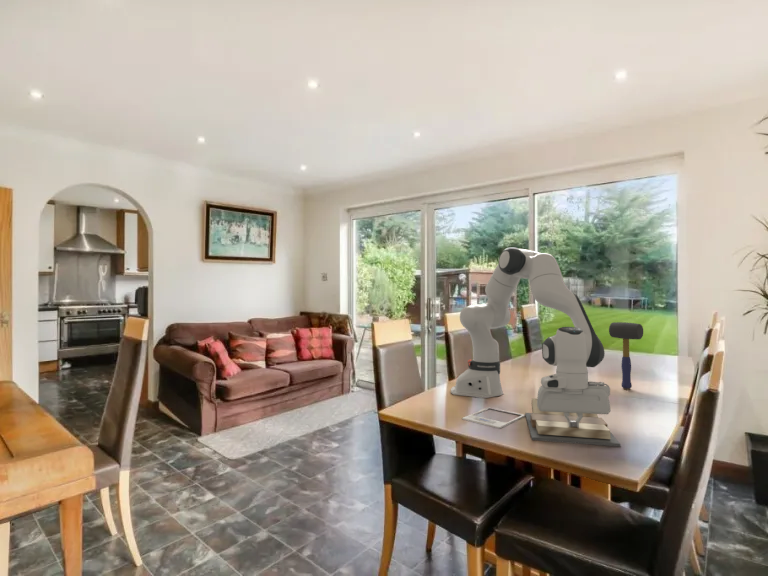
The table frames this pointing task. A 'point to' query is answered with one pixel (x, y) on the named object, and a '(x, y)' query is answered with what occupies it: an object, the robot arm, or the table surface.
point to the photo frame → (488, 421)
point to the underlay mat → (569, 437)
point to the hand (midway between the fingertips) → (573, 427)
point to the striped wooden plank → (562, 419)
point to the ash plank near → (573, 429)
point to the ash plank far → (537, 411)
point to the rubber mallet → (626, 346)
